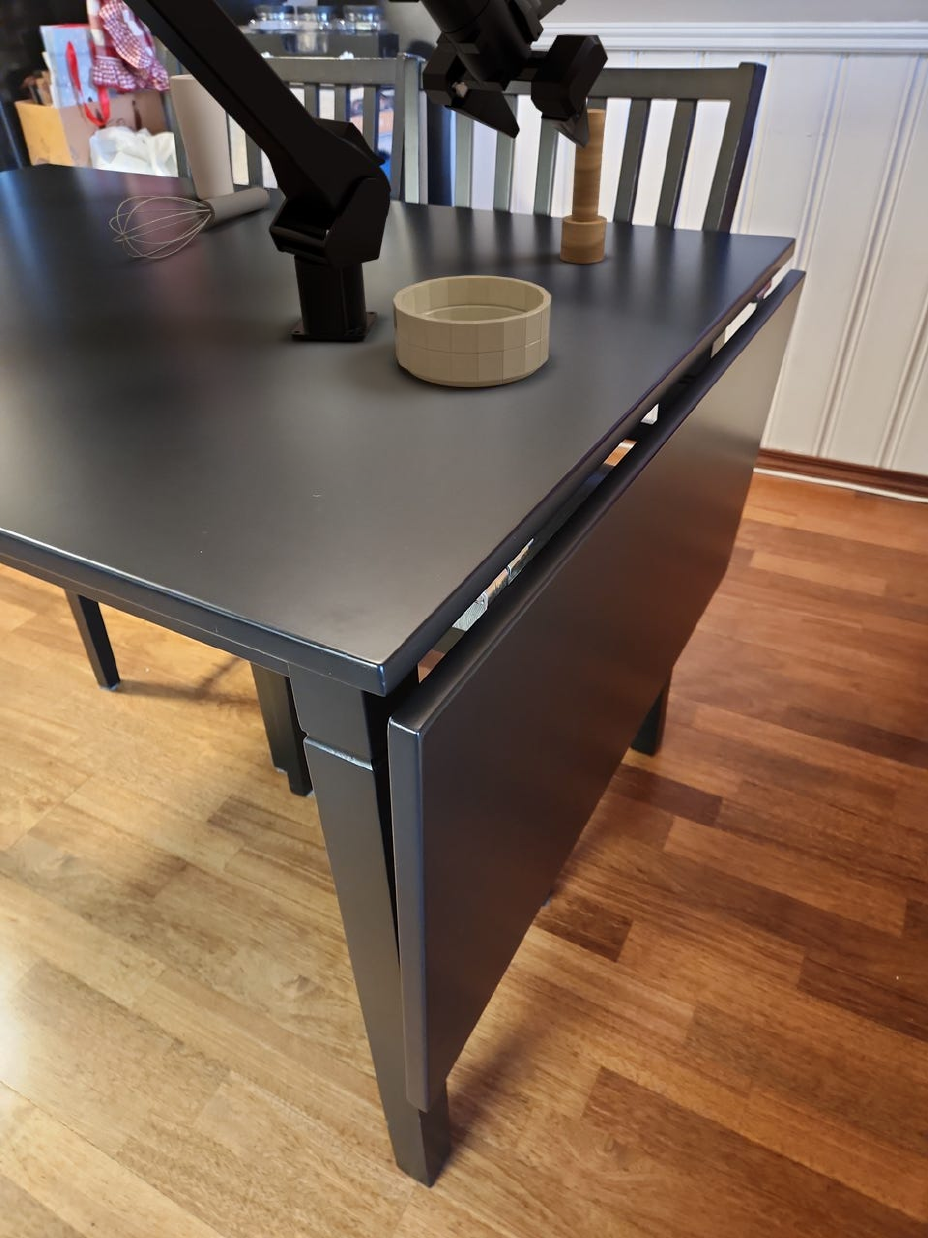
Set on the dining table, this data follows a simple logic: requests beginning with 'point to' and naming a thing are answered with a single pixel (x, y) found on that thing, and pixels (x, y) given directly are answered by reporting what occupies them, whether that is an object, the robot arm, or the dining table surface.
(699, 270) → the dining table surface
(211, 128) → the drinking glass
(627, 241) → the dining table surface
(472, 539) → the dining table surface
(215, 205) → the kitchen whisk
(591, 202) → the pestle
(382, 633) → the dining table surface
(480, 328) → the bowl
